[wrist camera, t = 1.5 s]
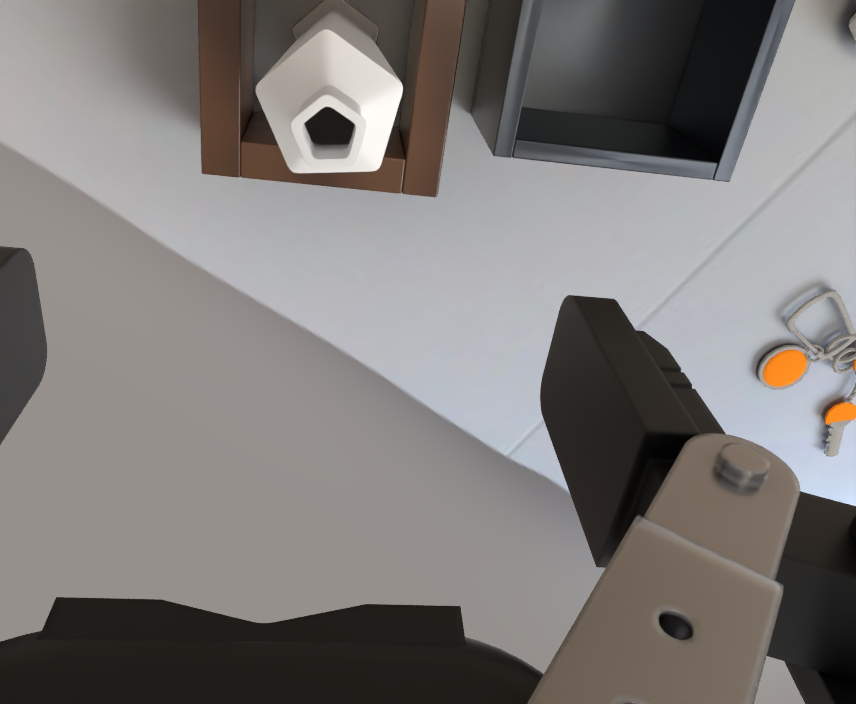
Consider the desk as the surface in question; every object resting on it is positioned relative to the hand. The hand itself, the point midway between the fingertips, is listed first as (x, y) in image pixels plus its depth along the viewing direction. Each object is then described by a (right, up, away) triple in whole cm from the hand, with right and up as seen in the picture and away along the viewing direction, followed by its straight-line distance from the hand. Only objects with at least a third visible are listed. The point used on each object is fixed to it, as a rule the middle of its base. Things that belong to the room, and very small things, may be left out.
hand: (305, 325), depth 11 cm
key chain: (+27, -2, +35) cm, 45 cm away
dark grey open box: (+10, +17, +22) cm, 29 cm away
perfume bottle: (-2, +14, +22) cm, 26 cm away
